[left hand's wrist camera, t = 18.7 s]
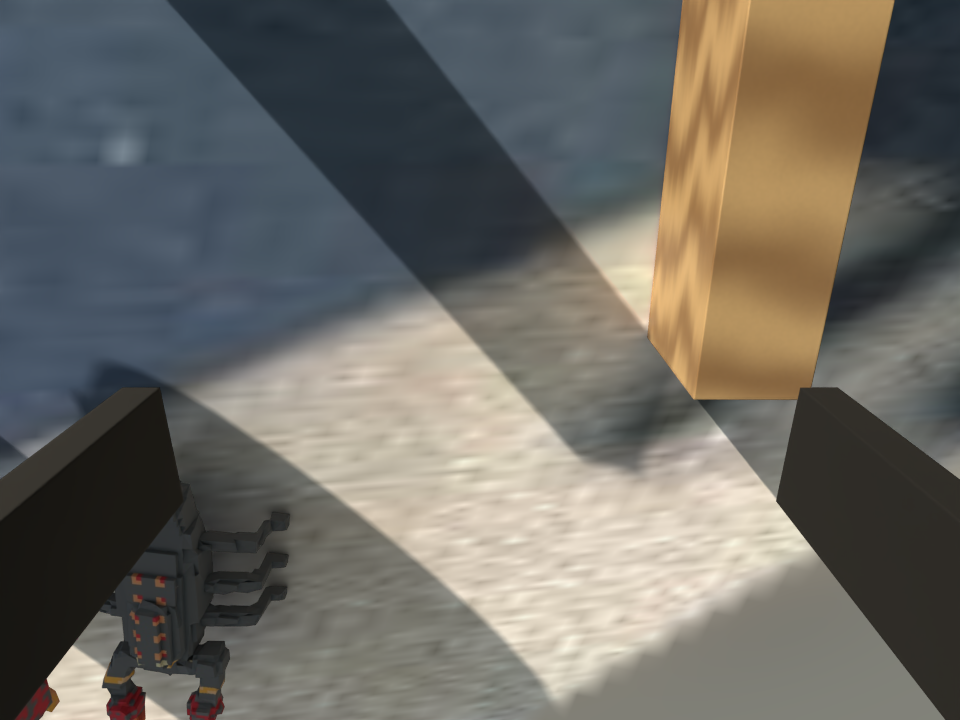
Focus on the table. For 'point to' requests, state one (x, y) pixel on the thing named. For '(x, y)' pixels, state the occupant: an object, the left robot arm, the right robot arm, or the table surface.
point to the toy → (178, 613)
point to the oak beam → (760, 187)
